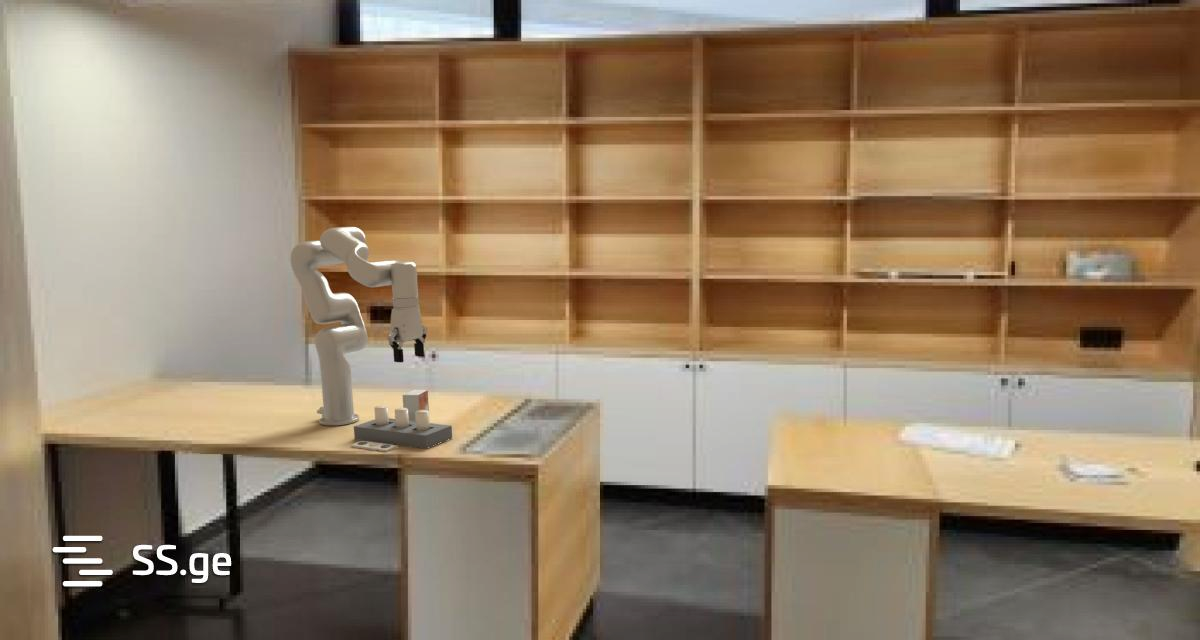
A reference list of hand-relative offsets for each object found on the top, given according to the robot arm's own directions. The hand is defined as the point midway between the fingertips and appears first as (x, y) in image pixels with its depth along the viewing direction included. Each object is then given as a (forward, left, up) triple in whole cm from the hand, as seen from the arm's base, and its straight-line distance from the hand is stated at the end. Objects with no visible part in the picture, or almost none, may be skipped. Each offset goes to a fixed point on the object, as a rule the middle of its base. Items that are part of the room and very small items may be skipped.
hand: (409, 359), depth 281 cm
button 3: (+7, -4, -21) cm, 23 cm away
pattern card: (-3, -15, -24) cm, 28 cm away
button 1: (-9, -4, -21) cm, 23 cm away
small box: (-9, +12, -24) cm, 28 cm away
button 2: (-1, -4, -21) cm, 22 cm away
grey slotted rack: (-1, -4, -24) cm, 24 cm away
